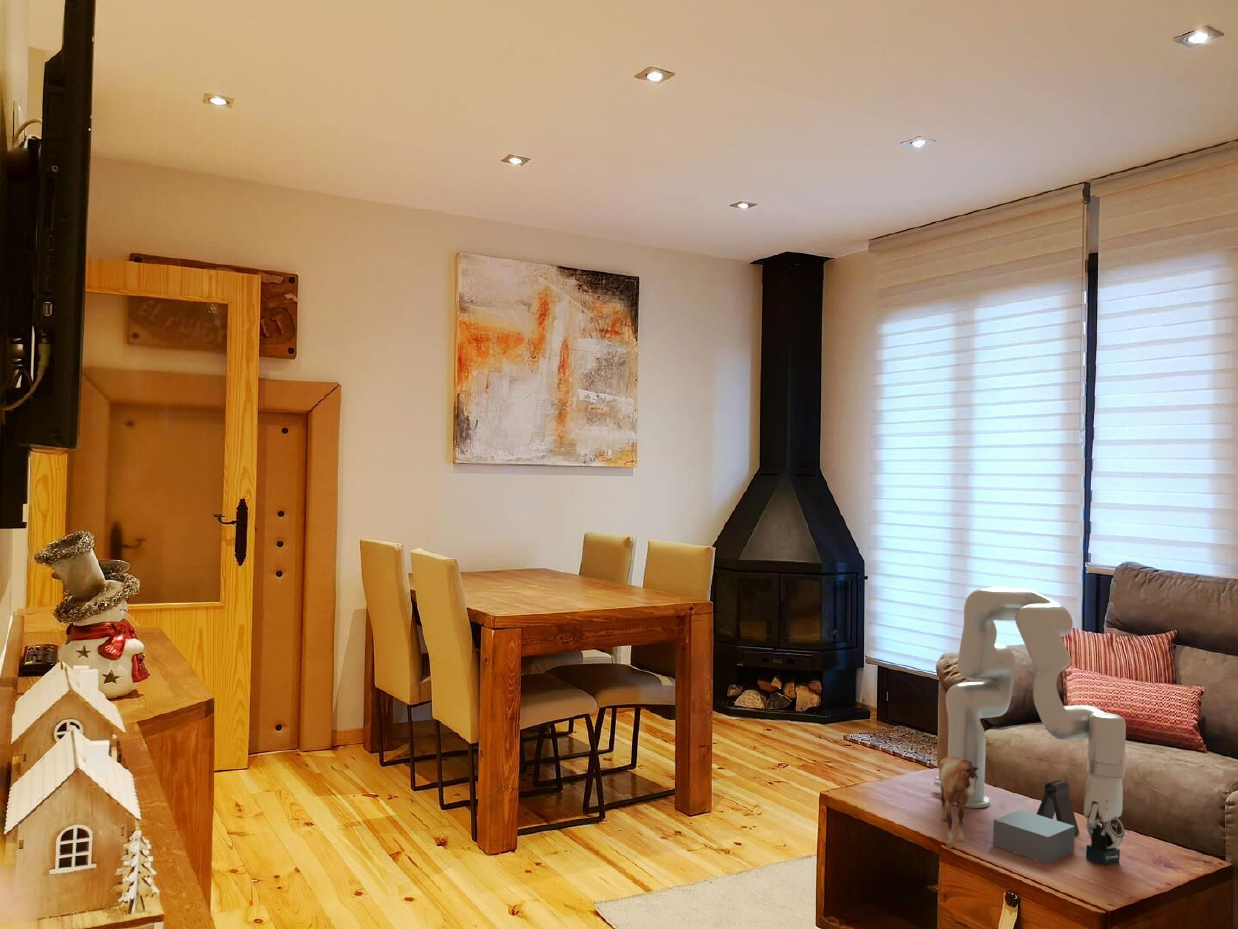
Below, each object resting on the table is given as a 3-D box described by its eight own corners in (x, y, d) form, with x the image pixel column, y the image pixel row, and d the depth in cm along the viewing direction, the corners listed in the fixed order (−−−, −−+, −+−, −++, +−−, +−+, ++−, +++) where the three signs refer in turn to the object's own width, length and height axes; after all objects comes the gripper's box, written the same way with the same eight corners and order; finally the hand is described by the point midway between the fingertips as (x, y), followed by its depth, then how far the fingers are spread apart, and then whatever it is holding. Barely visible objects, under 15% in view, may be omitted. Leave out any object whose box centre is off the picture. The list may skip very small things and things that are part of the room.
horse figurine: (975, 858, 213) (978, 766, 214) (939, 852, 215) (942, 762, 216) (968, 815, 243) (971, 734, 243) (936, 810, 245) (939, 731, 246)
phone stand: (1079, 834, 232) (1081, 785, 233) (1066, 838, 229) (1068, 788, 229) (1044, 822, 240) (1046, 775, 240) (1031, 826, 236) (1033, 778, 236)
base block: (992, 845, 221) (993, 819, 222) (1019, 834, 230) (1020, 809, 230) (1047, 864, 211) (1048, 837, 212) (1073, 852, 220) (1074, 826, 220)
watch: (1110, 869, 210) (1113, 819, 210) (1079, 855, 217) (1081, 807, 217) (1127, 866, 212) (1130, 817, 213) (1095, 853, 220) (1098, 805, 220)
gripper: (1104, 759, 224) (1102, 837, 223) (1072, 770, 213) (1069, 852, 212) (1138, 767, 218) (1136, 847, 217) (1107, 778, 207) (1104, 863, 207)
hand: (1103, 849), depth 215 cm, fingers closed on watch, 3 cm apart
